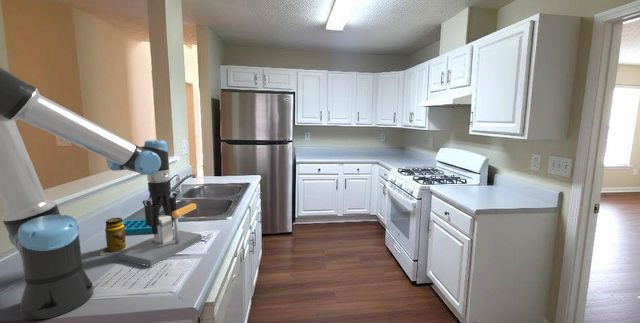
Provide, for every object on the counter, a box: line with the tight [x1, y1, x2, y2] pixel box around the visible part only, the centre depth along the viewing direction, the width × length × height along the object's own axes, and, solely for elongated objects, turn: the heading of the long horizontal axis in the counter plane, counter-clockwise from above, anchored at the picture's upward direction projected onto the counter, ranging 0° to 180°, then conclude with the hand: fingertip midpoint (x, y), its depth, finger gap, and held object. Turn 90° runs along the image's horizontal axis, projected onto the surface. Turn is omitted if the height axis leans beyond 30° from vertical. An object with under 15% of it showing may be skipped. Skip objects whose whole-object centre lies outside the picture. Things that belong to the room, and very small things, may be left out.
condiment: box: [99, 217, 128, 256], centre depth 113 cm, size 7×8×12 cm
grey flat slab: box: [117, 228, 203, 267], centre depth 114 cm, size 24×16×2 cm, turn 160°
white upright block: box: [155, 214, 173, 244], centre depth 116 cm, size 5×5×12 cm
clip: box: [172, 203, 197, 243], centre depth 118 cm, size 2×12×12 cm, turn 166°
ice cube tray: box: [122, 219, 152, 236], centre depth 134 cm, size 12×20×3 cm, turn 101°
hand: (163, 238), depth 117 cm, fingers closed on white upright block, 5 cm apart
